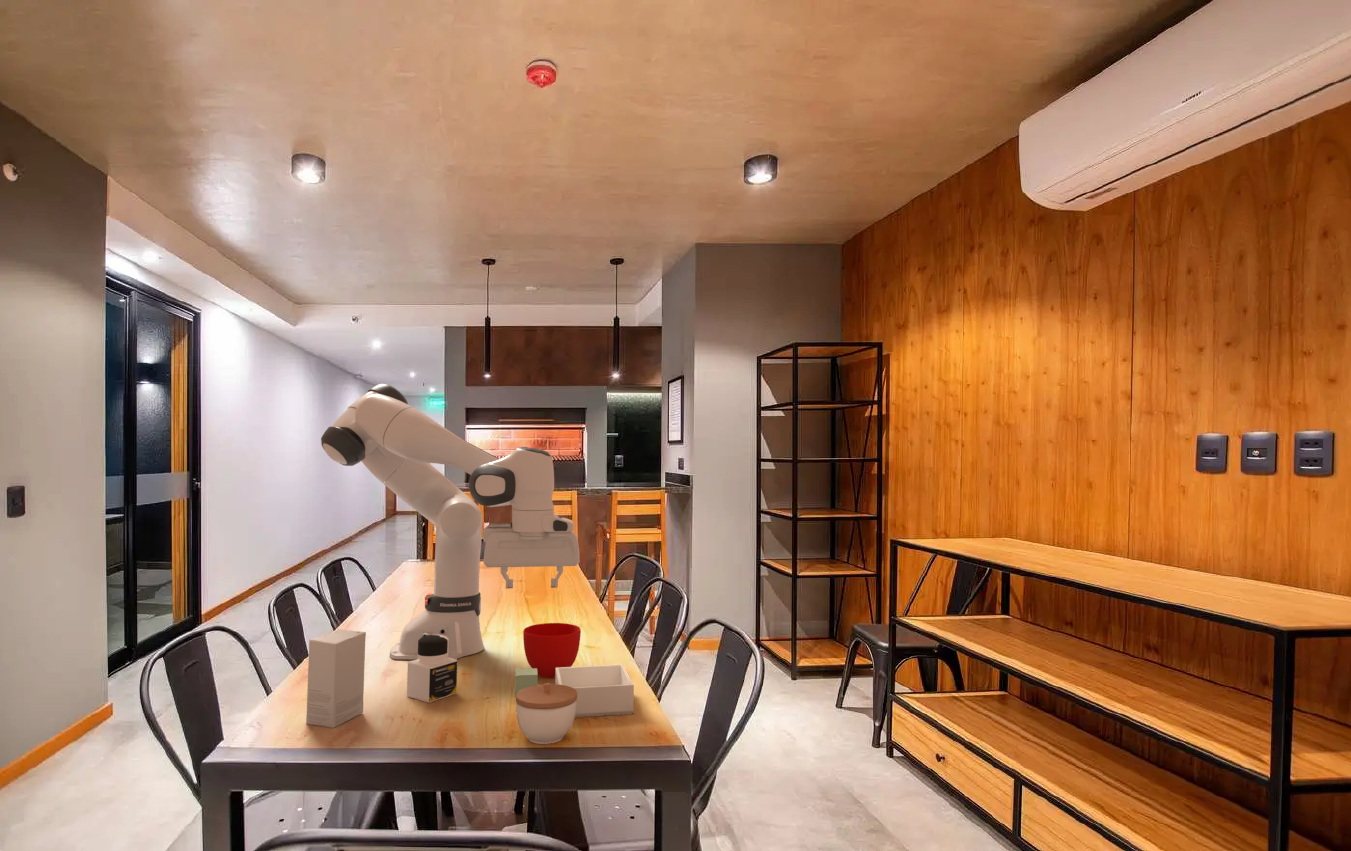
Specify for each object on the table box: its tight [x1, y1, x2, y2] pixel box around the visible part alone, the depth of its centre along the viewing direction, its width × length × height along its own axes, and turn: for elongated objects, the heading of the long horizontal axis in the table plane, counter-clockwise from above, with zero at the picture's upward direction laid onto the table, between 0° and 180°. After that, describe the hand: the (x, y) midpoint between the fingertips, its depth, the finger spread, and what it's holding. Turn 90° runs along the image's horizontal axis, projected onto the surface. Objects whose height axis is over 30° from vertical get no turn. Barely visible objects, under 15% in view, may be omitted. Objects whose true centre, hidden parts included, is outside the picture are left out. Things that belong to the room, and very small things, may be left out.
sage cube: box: [514, 668, 539, 698], centre depth 152 cm, size 4×4×4 cm
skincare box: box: [305, 629, 367, 729], centre depth 136 cm, size 8×7×16 cm
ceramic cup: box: [522, 622, 582, 679], centre depth 168 cm, size 13×17×10 cm
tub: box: [554, 663, 635, 718], centre depth 146 cm, size 14×14×6 cm
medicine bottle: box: [406, 635, 458, 704], centre depth 150 cm, size 7×7×12 cm
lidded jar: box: [515, 682, 577, 745], centre depth 128 cm, size 11×11×9 cm
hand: (532, 587), depth 155 cm, fingers open, 8 cm apart
